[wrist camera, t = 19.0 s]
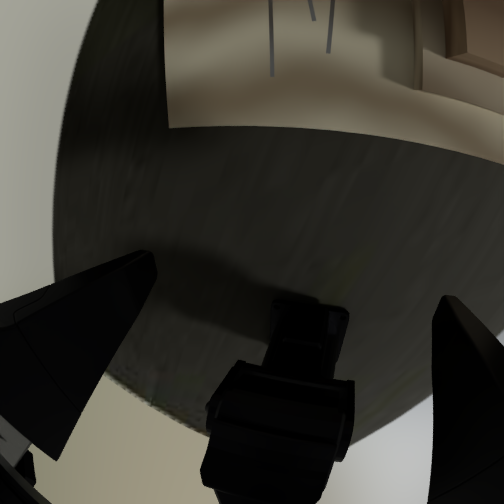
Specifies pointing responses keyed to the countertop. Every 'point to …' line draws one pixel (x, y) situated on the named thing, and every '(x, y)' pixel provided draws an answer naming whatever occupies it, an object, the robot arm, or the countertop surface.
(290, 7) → the board
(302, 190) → the countertop surface
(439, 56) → the block
